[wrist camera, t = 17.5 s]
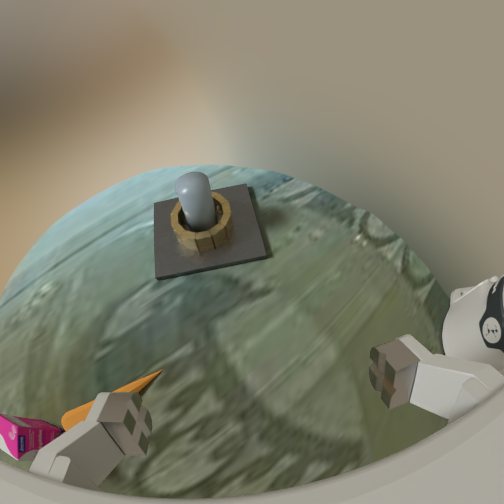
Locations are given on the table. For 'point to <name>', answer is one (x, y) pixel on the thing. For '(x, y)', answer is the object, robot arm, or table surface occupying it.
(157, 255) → the mounting plate
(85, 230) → the table surface
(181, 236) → the brass socket
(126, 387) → the carrot
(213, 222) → the grey capsule peg
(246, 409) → the table surface
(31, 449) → the supplement box
